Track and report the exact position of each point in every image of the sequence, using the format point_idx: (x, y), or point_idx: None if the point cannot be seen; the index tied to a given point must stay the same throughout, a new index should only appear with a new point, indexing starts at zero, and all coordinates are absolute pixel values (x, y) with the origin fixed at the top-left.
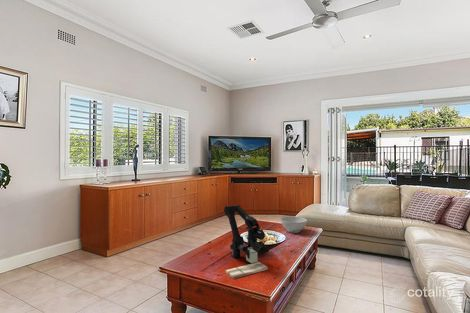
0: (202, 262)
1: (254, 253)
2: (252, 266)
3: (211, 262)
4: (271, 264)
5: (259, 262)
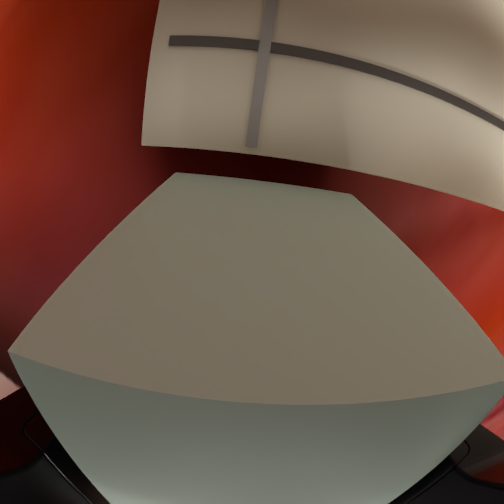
0: (500, 431)
1: (305, 362)
2: (445, 66)
3: (487, 425)
4: (10, 32)
5: (155, 113)
